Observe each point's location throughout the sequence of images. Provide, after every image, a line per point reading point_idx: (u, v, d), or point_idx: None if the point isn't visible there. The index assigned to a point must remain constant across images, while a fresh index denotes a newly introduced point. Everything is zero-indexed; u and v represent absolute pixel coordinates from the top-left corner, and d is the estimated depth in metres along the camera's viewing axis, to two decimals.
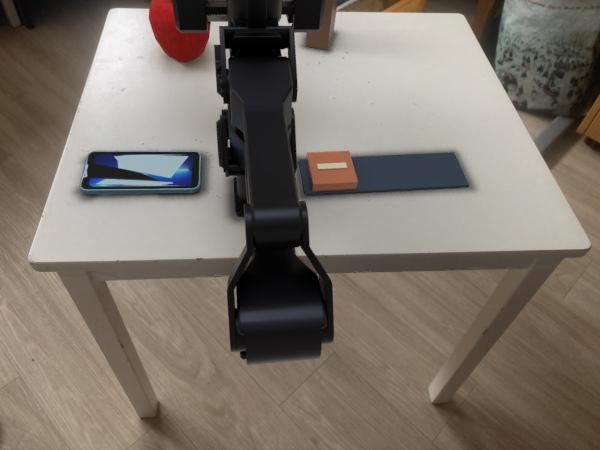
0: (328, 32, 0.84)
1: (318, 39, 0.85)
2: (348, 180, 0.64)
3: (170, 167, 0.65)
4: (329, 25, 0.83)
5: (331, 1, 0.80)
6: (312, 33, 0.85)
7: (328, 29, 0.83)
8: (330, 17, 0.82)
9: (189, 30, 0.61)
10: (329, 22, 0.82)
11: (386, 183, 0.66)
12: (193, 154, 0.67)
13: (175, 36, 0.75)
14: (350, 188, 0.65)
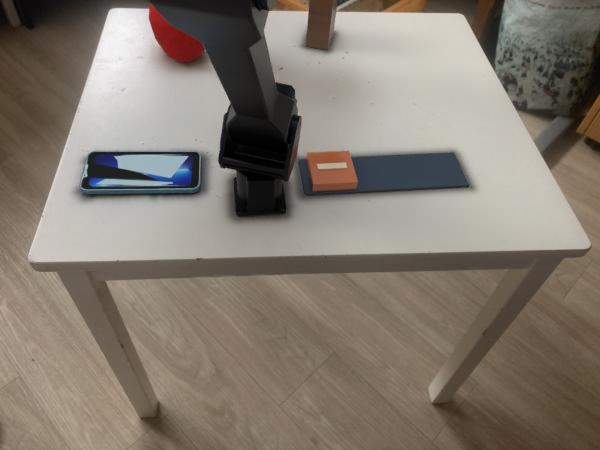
0: (328, 32, 0.84)
1: (318, 39, 0.85)
2: (348, 180, 0.64)
3: (170, 167, 0.65)
4: (329, 25, 0.83)
5: (331, 1, 0.80)
6: (312, 33, 0.85)
7: (328, 29, 0.83)
8: (330, 17, 0.82)
9: None
10: (329, 22, 0.82)
11: (386, 183, 0.66)
12: (193, 154, 0.67)
13: (175, 36, 0.75)
14: (350, 188, 0.65)
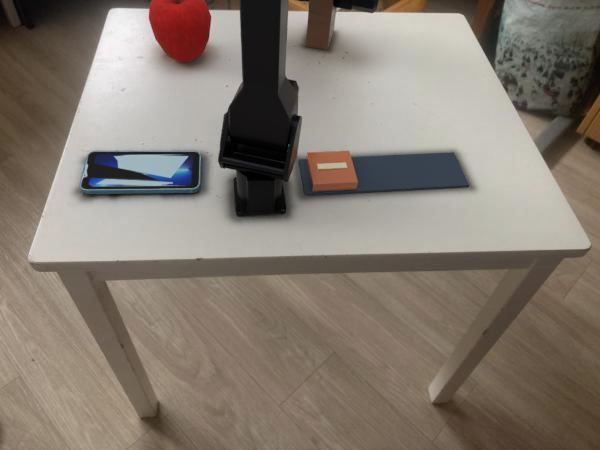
0: (328, 32, 0.84)
1: (318, 39, 0.85)
2: (348, 180, 0.64)
3: (170, 167, 0.65)
4: (329, 25, 0.83)
5: (331, 1, 0.80)
6: (312, 33, 0.85)
7: (328, 29, 0.83)
8: (330, 17, 0.82)
9: None
10: (329, 22, 0.82)
11: (386, 183, 0.66)
12: (193, 154, 0.67)
13: (175, 36, 0.75)
14: (350, 188, 0.65)
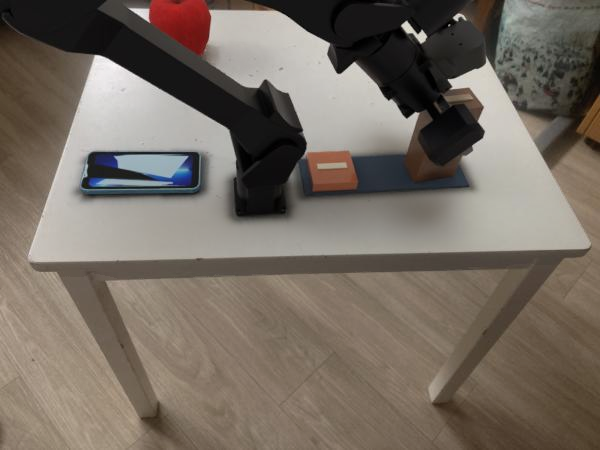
0: (420, 163, 0.64)
1: (411, 164, 0.66)
2: (348, 180, 0.64)
3: (170, 167, 0.65)
4: (422, 156, 0.63)
5: None
6: (410, 153, 0.66)
7: (420, 160, 0.64)
8: None
9: None
10: (423, 153, 0.63)
11: (386, 183, 0.66)
12: (193, 154, 0.67)
13: (175, 36, 0.75)
14: (350, 188, 0.65)
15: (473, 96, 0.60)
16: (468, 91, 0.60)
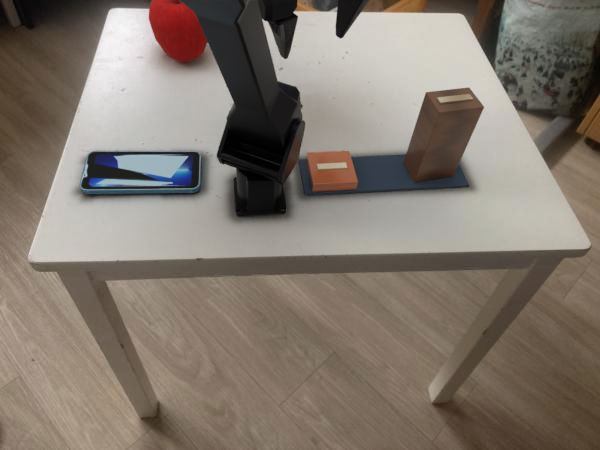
0: (420, 163, 0.64)
1: (411, 164, 0.66)
2: (348, 180, 0.64)
3: (170, 167, 0.65)
4: (422, 156, 0.63)
5: (431, 131, 0.60)
6: (410, 153, 0.66)
7: (420, 160, 0.64)
8: (425, 148, 0.62)
9: None
10: (423, 153, 0.63)
11: (386, 183, 0.66)
12: (193, 154, 0.67)
13: (175, 36, 0.75)
14: (350, 188, 0.65)
15: (473, 96, 0.60)
16: (468, 91, 0.60)
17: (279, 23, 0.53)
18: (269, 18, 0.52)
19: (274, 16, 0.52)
